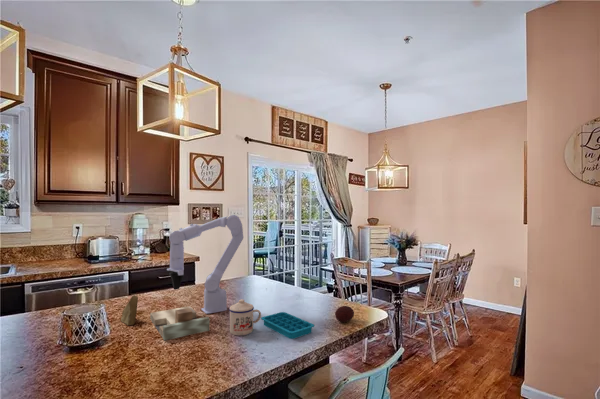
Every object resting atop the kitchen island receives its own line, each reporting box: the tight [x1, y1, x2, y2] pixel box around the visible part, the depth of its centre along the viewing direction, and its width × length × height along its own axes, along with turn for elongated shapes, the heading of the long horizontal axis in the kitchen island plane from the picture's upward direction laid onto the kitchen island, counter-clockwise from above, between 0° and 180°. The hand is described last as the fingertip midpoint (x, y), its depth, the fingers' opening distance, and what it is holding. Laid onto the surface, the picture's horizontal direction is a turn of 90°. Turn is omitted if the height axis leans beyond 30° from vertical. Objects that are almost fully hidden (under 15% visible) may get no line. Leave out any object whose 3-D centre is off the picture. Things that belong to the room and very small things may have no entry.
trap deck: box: [149, 305, 210, 341], centre depth 127 cm, size 16×26×4 cm, turn 35°
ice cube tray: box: [260, 311, 315, 340], centre depth 123 cm, size 12×20×3 cm, turn 40°
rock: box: [120, 294, 139, 326], centre depth 130 cm, size 11×9×10 cm
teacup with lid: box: [228, 298, 262, 336], centre depth 121 cm, size 12×9×12 cm
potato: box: [334, 305, 355, 323], centre depth 130 cm, size 8×9×6 cm
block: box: [175, 308, 192, 323], centre depth 120 cm, size 5×5×5 cm
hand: (176, 289), depth 141 cm, fingers closed
